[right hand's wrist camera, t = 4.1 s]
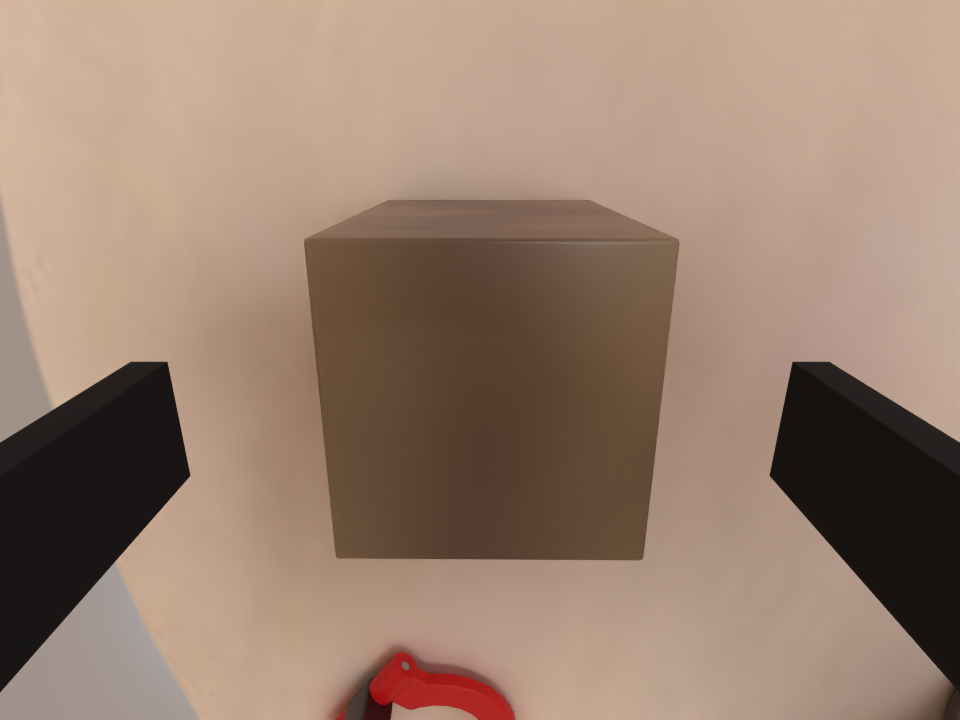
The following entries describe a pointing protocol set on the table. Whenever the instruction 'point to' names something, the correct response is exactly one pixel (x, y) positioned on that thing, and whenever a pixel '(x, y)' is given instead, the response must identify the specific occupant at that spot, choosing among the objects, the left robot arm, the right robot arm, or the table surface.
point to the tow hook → (423, 693)
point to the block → (490, 377)
